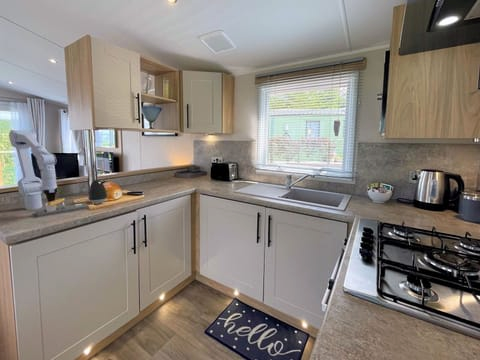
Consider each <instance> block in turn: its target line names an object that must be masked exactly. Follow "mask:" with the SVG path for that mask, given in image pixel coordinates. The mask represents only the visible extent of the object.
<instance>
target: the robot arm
mask: <svg viewBox="0 0 480 360" xmlns="http://www.w3.org/2000/svg"><path fill="white" fill-rule="evenodd" d="M8 137H9V141H10V144H11V147H12V148H15V150H16V154H17V157H18V161H19V166H20V170H21V174H22V178H21V179H19V180H18V181H17V190H18V192H19V194H20V195H21V196H23V201H24V206H25V207H24V209H25V210H28V211H29V210H39V209H41V208H43V207H44V205H43V202H42V201H43V200H42V193H43V194H44V195H45V197H46V199H47V203H48V202H51V201H55V200H56V195H57V192H58V189H57V188H58V185H57V174H56V168H55V167H56V166H55V165H57V162H58V160H57V157H56V155H55V154H54V153H51V152H49V151H48V150H47V149H46V148H45V147H44V146H43V145H41V144H40V143H39V142H38V141H37V138H38V137H37V133H36V132H35V131H34V130H15V129H10V131H9V133H8ZM29 148H31V149H29ZM30 152H31V153H32V154H33V156H34V157H35V159H36V163H37V167H38V169H39V170H40V177H41V178H40V177H37V176H36V174H35V171H34V167H33V162H32V158H31V155H30Z"/></svg>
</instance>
